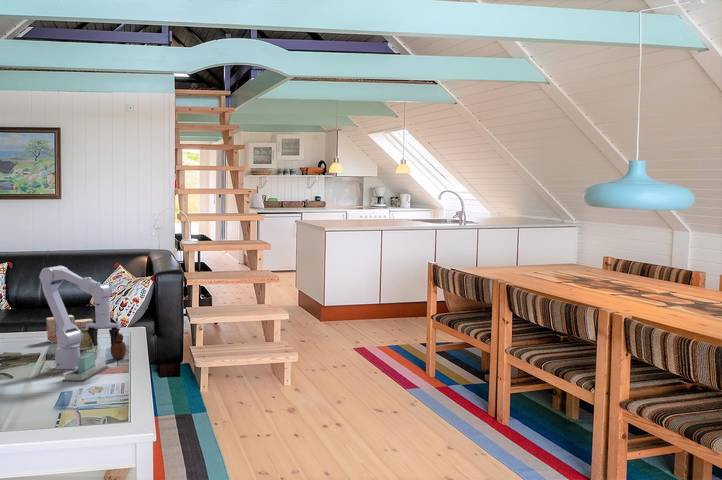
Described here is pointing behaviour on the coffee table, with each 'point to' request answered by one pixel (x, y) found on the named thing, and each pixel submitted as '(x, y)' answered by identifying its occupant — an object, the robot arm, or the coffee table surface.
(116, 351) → the wooden figurine
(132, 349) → the coffee table surface
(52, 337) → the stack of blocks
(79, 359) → the door panel
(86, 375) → the track
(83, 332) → the ceramic cup
